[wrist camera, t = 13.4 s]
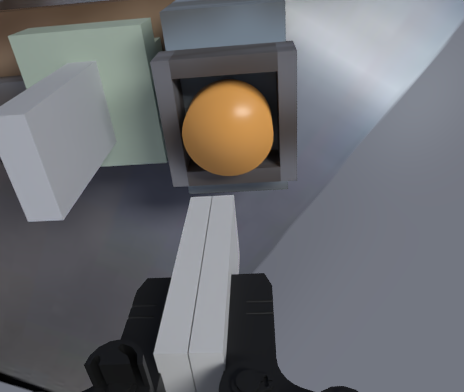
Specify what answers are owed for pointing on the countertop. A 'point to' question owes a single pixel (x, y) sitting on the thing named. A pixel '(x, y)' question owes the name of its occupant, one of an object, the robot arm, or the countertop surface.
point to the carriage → (79, 110)
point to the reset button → (228, 128)
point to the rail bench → (194, 71)
